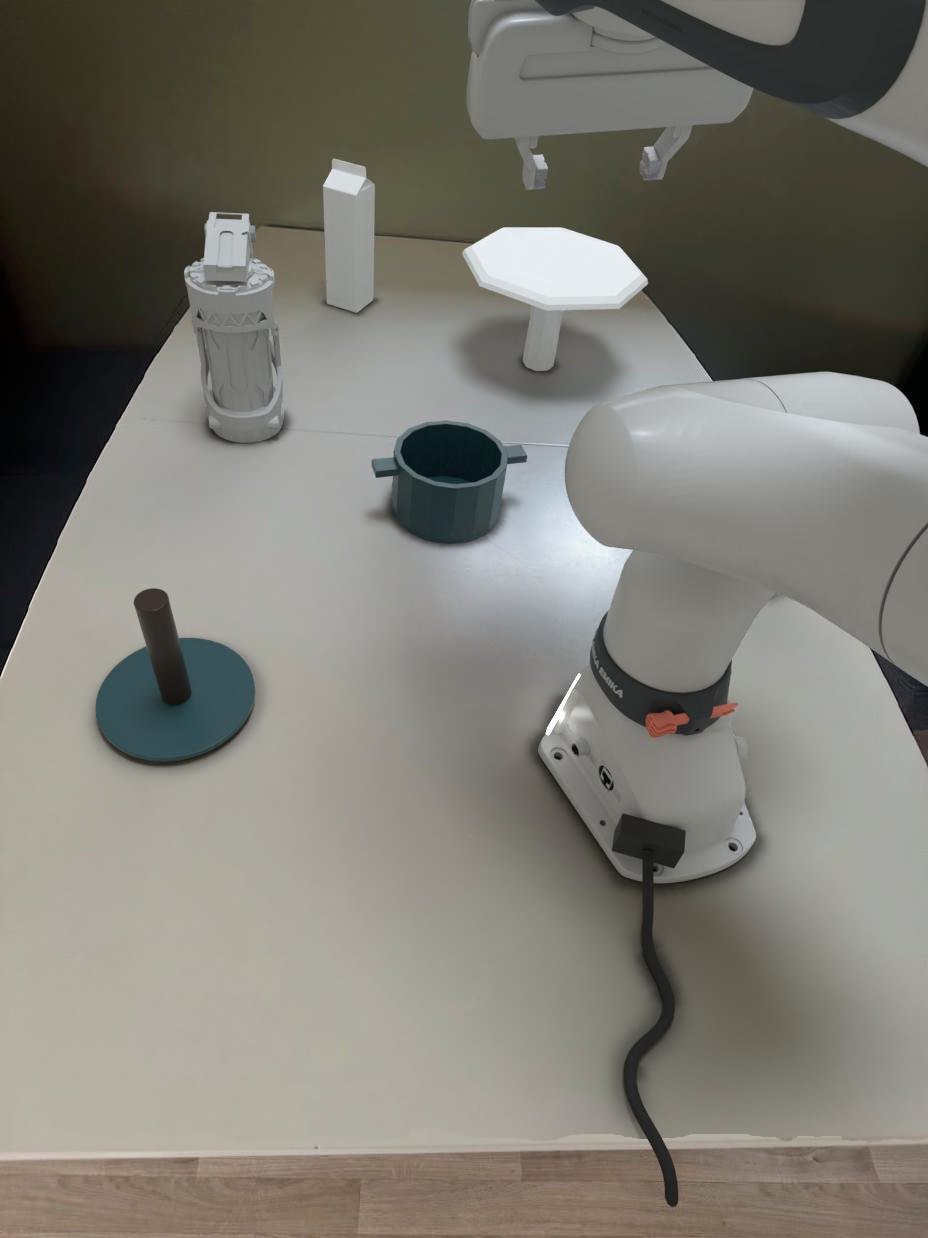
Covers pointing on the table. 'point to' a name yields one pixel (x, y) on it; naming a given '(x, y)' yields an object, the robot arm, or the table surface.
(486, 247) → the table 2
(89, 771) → the table surface
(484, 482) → the pot
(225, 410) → the lantern
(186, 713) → the lid
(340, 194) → the milk
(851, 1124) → the table surface
